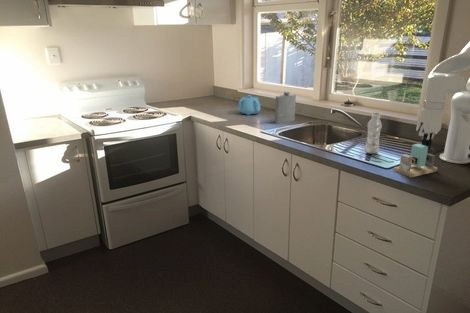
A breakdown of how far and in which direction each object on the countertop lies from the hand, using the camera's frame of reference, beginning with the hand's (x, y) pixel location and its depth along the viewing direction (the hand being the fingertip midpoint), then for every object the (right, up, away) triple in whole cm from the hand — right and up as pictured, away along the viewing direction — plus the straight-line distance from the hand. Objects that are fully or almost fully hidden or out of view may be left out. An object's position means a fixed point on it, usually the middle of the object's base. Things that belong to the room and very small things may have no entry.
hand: (425, 148), depth 157 cm
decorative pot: (-71, +28, +113) cm, 136 cm away
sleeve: (-3, -7, +1) cm, 8 cm away
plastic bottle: (-14, -2, +24) cm, 28 cm away
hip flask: (-48, +19, +87) cm, 102 cm away
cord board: (-4, -10, +1) cm, 11 cm away
